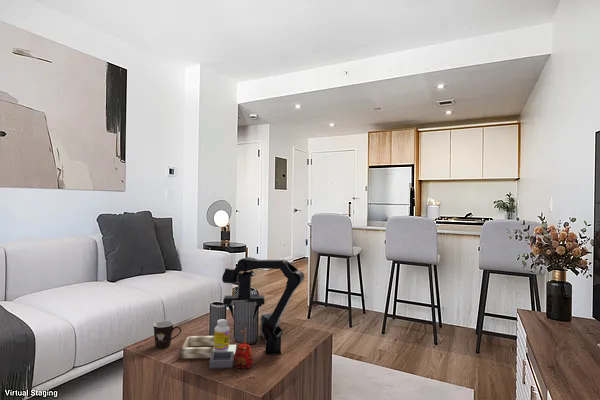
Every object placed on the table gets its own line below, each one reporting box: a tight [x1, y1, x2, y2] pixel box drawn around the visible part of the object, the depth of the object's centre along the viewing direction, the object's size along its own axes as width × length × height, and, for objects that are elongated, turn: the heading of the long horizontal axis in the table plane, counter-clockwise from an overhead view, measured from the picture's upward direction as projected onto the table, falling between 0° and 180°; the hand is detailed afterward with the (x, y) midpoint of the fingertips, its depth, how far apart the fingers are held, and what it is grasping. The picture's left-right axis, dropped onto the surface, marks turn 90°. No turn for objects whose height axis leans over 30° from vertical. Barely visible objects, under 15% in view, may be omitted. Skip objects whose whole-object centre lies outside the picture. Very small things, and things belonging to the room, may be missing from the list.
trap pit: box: [208, 351, 235, 370], centre depth 147 cm, size 9×9×3 cm
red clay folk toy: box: [233, 328, 253, 370], centre depth 146 cm, size 8×7×15 cm
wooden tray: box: [180, 335, 214, 359], centre depth 158 cm, size 12×14×4 cm
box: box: [259, 312, 273, 340], centre depth 178 cm, size 8×6×11 cm
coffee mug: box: [153, 320, 182, 349], centre depth 162 cm, size 12×9×10 cm
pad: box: [212, 344, 237, 355], centre depth 160 cm, size 10×10×1 cm
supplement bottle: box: [213, 318, 231, 352], centre depth 159 cm, size 7×7×13 cm
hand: (243, 318), depth 164 cm, fingers open, 9 cm apart
